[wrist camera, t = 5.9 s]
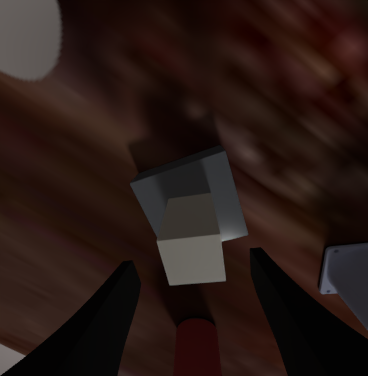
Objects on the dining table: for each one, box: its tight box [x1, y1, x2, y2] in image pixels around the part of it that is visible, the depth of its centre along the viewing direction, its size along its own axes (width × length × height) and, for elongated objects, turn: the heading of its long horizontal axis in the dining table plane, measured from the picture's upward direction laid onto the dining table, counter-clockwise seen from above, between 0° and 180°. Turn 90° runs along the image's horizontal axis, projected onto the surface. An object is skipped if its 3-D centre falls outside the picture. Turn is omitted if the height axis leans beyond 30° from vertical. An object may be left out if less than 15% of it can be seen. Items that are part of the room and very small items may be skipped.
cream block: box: [157, 193, 226, 285], centre depth 14 cm, size 4×4×6 cm
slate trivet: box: [130, 145, 248, 242], centre depth 18 cm, size 9×9×3 cm
